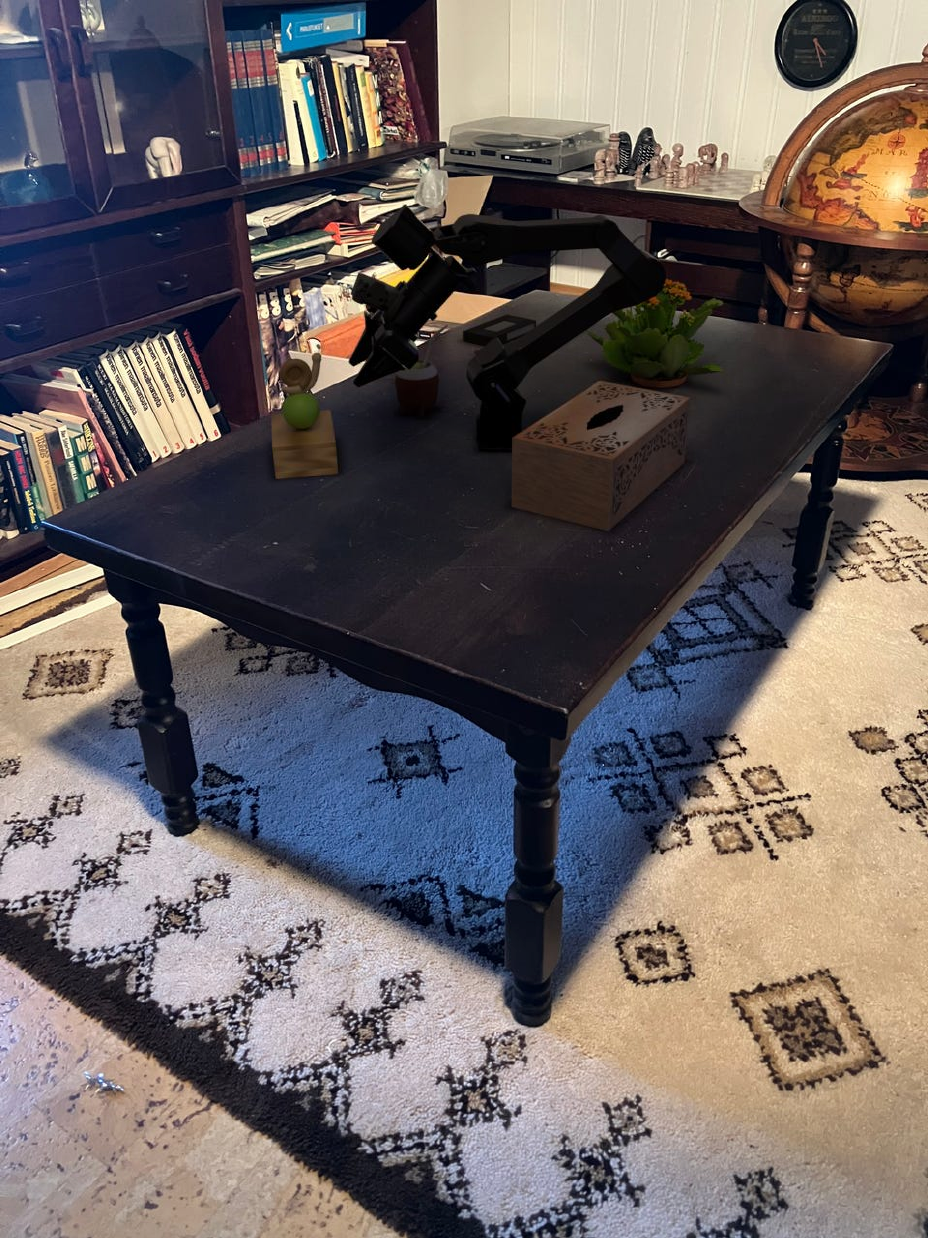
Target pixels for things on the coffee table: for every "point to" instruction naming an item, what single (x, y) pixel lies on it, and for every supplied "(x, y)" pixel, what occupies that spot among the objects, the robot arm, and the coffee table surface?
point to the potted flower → (658, 339)
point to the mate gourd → (418, 385)
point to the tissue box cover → (599, 454)
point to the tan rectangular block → (304, 448)
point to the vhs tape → (499, 330)
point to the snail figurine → (300, 391)
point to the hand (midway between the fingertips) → (352, 374)
